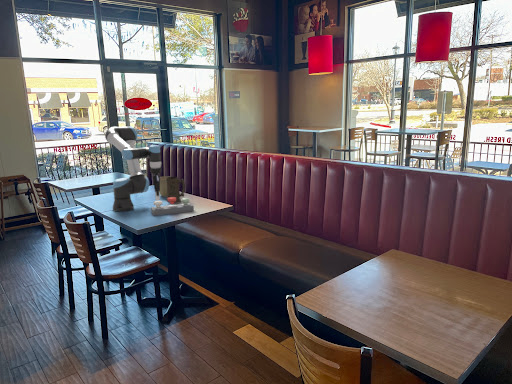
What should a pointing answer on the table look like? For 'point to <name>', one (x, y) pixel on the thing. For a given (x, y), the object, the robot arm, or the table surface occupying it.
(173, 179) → the beer stein
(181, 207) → the button panel
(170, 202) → the red button
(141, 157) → the robot arm
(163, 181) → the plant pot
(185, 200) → the green button
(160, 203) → the white button
